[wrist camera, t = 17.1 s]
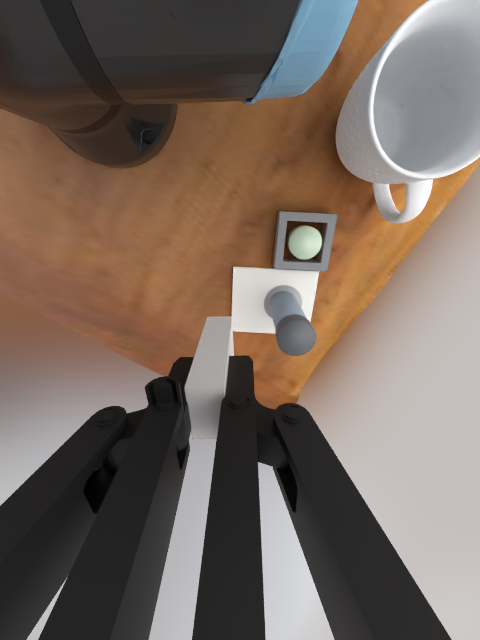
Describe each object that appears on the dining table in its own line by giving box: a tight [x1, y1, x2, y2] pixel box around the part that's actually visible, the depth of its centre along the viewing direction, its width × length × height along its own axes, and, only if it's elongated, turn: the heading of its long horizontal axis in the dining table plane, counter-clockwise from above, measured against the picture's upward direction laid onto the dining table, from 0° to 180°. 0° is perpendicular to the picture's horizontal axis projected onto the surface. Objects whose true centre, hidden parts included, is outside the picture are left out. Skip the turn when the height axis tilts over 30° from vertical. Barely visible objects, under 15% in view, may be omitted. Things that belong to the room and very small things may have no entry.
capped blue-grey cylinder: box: [270, 291, 316, 356], centre depth 33 cm, size 4×4×11 cm
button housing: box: [273, 211, 338, 271], centre depth 34 cm, size 7×7×2 cm
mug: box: [336, 0, 480, 223], centre depth 25 cm, size 15×11×13 cm
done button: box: [287, 225, 322, 260], centre depth 34 cm, size 4×4×3 cm
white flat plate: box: [232, 266, 319, 333], centre depth 39 cm, size 10×12×1 cm
